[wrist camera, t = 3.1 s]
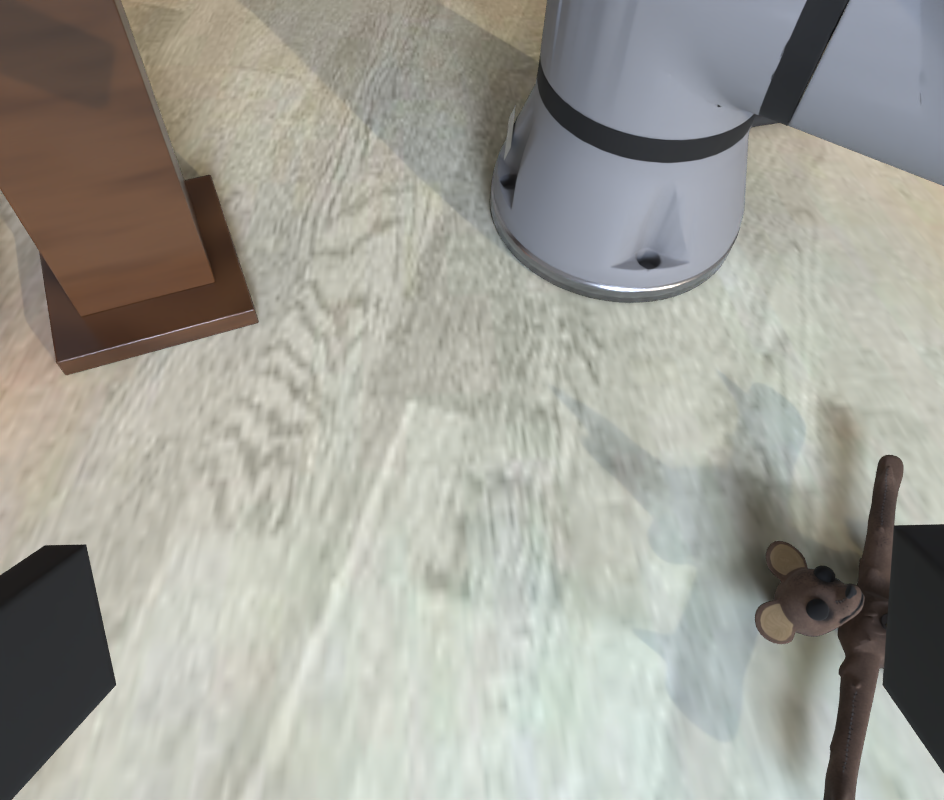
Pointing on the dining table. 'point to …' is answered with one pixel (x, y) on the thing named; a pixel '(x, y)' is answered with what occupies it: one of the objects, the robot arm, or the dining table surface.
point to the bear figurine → (841, 622)
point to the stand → (107, 190)
